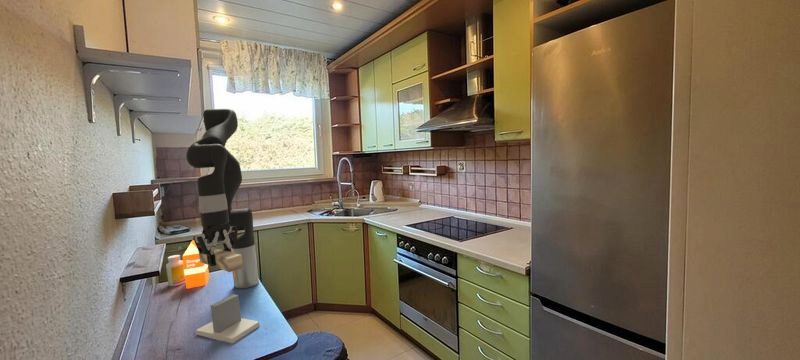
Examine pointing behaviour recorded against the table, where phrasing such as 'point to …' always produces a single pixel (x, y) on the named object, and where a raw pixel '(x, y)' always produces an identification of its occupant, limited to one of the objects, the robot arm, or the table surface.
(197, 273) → the orange juice
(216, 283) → the table surface
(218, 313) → the stand
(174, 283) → the supplement bottle
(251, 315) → the table surface
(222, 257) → the rectangular block
